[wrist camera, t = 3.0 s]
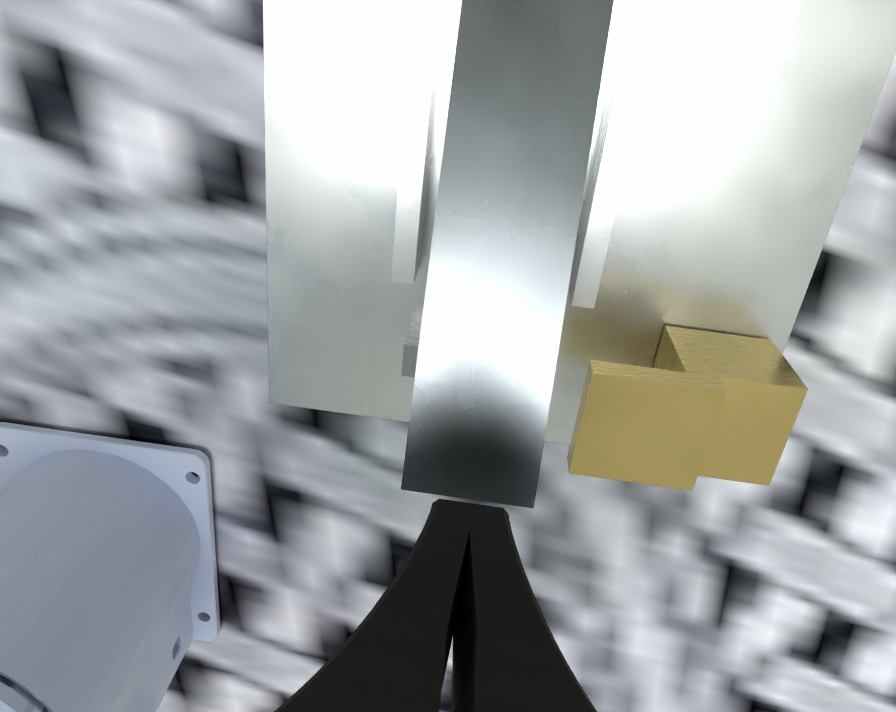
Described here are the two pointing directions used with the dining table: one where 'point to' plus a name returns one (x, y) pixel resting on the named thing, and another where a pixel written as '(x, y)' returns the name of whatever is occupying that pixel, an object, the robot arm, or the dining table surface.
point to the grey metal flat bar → (503, 244)
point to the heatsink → (605, 193)
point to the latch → (688, 412)
